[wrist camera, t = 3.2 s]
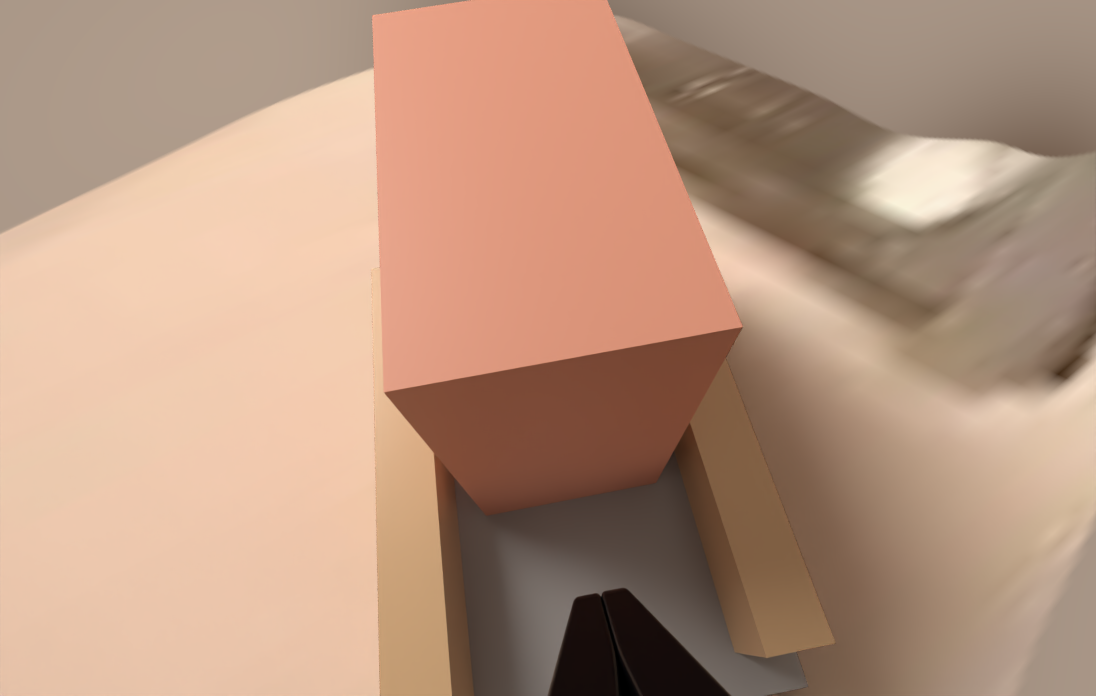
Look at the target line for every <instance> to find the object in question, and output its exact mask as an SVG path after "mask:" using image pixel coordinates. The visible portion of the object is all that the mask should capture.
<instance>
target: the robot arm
mask: <svg viewBox="0 0 1096 696" xmlns="http://www.w3.org/2000/svg"><path fill="white" fill-rule="evenodd" d="M547 696H731V695H730V694H729V693H728V692H727V691H726V690H725V688H724V687H723V686H722V685H721V684H720V683H719V682H718V681H717V680H716V679H715V678H714V677H713V676H712V675H711V674H710V673H709V672H708V671H707V670H706V669H705V668H704V667H703V666H702V665H701V664H700V663H699V662H698V661H697V660H696V659H695V658H694V657H693V656H692V655H691V654H690V653H689V652H688V650H687V649H686V648H685V647H684V646H683V645H682V644H681V643H680V642H679V641H678V640H677V639H676V638H675V637H674V636H673V635H672V634H671V633H670V632H669V631H668V630H667V629H666V628H665V627H664V626H663V625H662V624H661V623H660V622H659V621H658V620H657V619H656V618H655V617H654V616H653V615H652V614H651V612H650V611H649V610H648V609H647V608H646V607H645V606H644V605H643V604H642V603H641V602H640V601H639V600H638V599H637V598H636V597H635V596H634V595H633V594H632V593H631V592H630V591H629V590H628V589H626V588H618V589H613V590H608V591H604V592H603V593H602V595H601V596H600V595H599V594H598V593H593V594H588V595H583V596H578V597H576V598H575V599H574V601H573V604H572V608H571V611H570V615H569V618H568V622H567V626H566V629H565V633H564V637H563V640H562V644H561V648H560V651H559V655H558V658H557V662H556V666H555V669H554V673H553V677H552V680H551V684H550V688H549V691H548V695H547Z"/></svg>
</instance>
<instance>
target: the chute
mask: <svg viewBox="0 0 1096 696" xmlns="http://www.w3.org/2000/svg"><path fill="white" fill-rule="evenodd" d="M371 279H372V329H373V379H374V428H375V478H376V528H377V577H378V627H379V677H380V696H547V695H548V691H549V688H550V684H551V680H552V677H553V673H554V669H555V666H556V662H557V658H558V655H559V651H560V648H561V644H562V640H563V637H564V633H565V629H566V626H567V622H568V618H569V615H570V611H571V608H572V604H573V601H574V599H575V598H576V597H578V596H583V595H588V594H593V593H598V594H599V595H600V596H601V595H602V593H603V592H604V591H608V590H613V589H618V588H626V589H628V590H629V591H630V592H631V593H632V594H633V595H634V596H635V597H636V598H637V599H638V600H639V601H640V602H641V603H642V604H643V605H644V606H645V607H646V608H647V609H648V610H649V611H650V612H651V614H652V615H653V616H654V617H655V618H656V619H657V620H658V621H659V622H660V623H661V624H662V625H663V626H664V627H665V628H666V629H667V630H668V631H669V632H670V633H671V634H672V635H673V636H674V637H675V638H676V639H677V640H678V641H679V642H680V643H681V644H682V645H683V646H684V647H685V648H686V649H687V650H688V652H689V653H690V654H691V655H692V656H693V657H694V658H695V659H696V660H697V661H698V662H699V663H700V664H701V665H702V666H703V667H704V668H705V669H706V670H707V671H708V672H709V673H710V674H711V675H712V676H713V677H714V678H715V679H716V680H717V681H718V682H719V683H720V684H721V685H722V686H723V687H724V688H725V690H726V691H727V692H728V693H729V694H730V695H731V696H767V695H772V694H777V693H782V692H786V691H791V690H796V689H801V688H805V687H808V684H807V681H806V678H805V675H804V672H803V669H802V667H801V664H800V661H799V658H798V655H797V651H802V650H807V649H812V648H817V647H821V646H826V645H831V644H836V643H835V640H834V638H833V635H832V632H831V630H830V627H829V625H828V622H827V619H826V617H825V614H824V612H823V609H822V607H821V604H820V601H819V599H818V596H817V594H816V591H815V588H814V586H813V583H812V581H811V578H810V575H809V573H808V570H807V568H806V565H805V562H804V560H803V557H802V555H801V552H800V549H799V547H798V544H797V542H796V539H795V536H794V534H793V531H792V529H791V526H790V523H789V521H788V518H787V516H786V513H785V510H784V508H783V505H782V503H781V500H780V497H779V495H778V492H777V490H776V487H775V484H774V482H773V479H772V477H771V474H770V471H769V469H768V466H767V464H766V461H765V458H764V456H763V453H762V451H761V448H760V445H759V443H758V440H757V438H756V435H755V432H754V430H753V427H752V425H751V422H750V419H749V417H748V414H747V412H746V409H745V406H744V404H743V401H742V399H741V396H740V393H739V391H738V388H737V386H736V383H735V380H734V378H733V375H732V373H731V370H730V367H729V365H728V362H727V360H726V358H725V360H724V362H723V363H722V365H721V367H720V369H719V371H718V372H717V374H716V376H715V378H714V380H713V381H712V383H711V385H710V387H709V389H708V390H707V392H706V394H705V396H704V398H703V399H702V401H701V403H700V405H699V407H698V408H697V410H696V412H695V414H694V416H693V417H692V419H691V421H690V423H689V425H688V426H687V428H686V430H685V432H684V434H683V435H682V437H681V439H680V441H679V442H678V444H677V446H676V448H675V450H674V451H673V453H672V455H671V457H670V459H669V460H668V462H667V464H666V466H665V468H664V469H663V471H662V473H661V475H660V477H659V478H658V480H657V482H656V483H654V484H649V485H643V486H638V487H633V488H628V489H623V490H617V491H612V492H607V493H602V494H597V495H592V496H586V497H581V498H576V499H571V500H566V501H560V502H555V503H550V504H545V505H540V506H535V507H529V508H524V509H519V510H514V511H509V512H504V513H498V514H493V515H488V516H486V515H485V514H484V513H483V511H482V510H481V509H480V508H479V507H478V505H477V504H476V503H475V502H474V501H473V499H472V498H471V497H470V496H469V495H468V493H467V492H466V491H465V490H464V489H463V487H462V486H461V485H460V484H459V482H458V481H457V480H456V479H455V478H454V476H453V475H452V474H451V473H450V472H449V470H448V469H447V468H446V467H445V466H444V464H443V463H442V462H441V461H440V460H439V458H438V457H437V456H436V455H435V454H434V452H433V451H432V450H431V449H430V448H429V446H428V445H427V444H426V443H425V442H424V440H423V439H422V438H421V437H420V435H419V434H418V433H417V432H416V431H415V429H414V428H413V427H412V426H411V425H410V423H409V422H408V421H407V420H406V419H405V417H404V416H403V415H402V414H401V413H400V411H399V410H398V409H397V408H396V407H395V405H394V404H393V403H392V402H391V401H390V399H389V398H388V397H387V396H386V395H385V393H384V388H383V355H382V321H381V288H380V267H379V268H374V269H371Z"/></svg>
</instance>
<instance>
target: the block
mask: <svg viewBox="0 0 1096 696" xmlns="http://www.w3.org/2000/svg"><path fill="white" fill-rule="evenodd" d="M372 21H373V54H374V88H375V121H376V154H377V188H378V221H379V255H380V288H381V321H382V355H383V388H384V393H385V395H386V396H387V397H388V398H389V399H390V401H391V402H392V403H393V404H394V405H395V407H396V408H397V409H398V410H399V411H400V413H401V414H402V415H403V416H404V417H405V419H406V420H407V421H408V422H409V423H410V425H411V426H412V427H413V428H414V429H415V431H416V432H417V433H418V434H419V435H420V437H421V438H422V439H423V440H424V442H425V443H426V444H427V445H428V446H429V448H430V449H431V450H432V451H433V452H434V454H435V455H436V456H437V457H438V458H439V460H440V461H441V462H442V463H443V464H444V466H445V467H446V468H447V469H448V470H449V472H450V473H451V474H452V475H453V476H454V478H455V479H456V480H457V481H458V482H459V484H460V485H461V486H462V487H463V489H464V490H465V491H466V492H467V493H468V495H469V496H470V497H471V498H472V499H473V501H474V502H475V503H476V504H477V505H478V507H479V508H480V509H481V510H482V511H483V513H484V514H485V515H486V516H488V515H493V514H498V513H504V512H509V511H514V510H519V509H524V508H529V507H535V506H540V505H545V504H550V503H555V502H560V501H566V500H571V499H576V498H581V497H586V496H592V495H597V494H602V493H607V492H612V491H617V490H623V489H628V488H633V487H638V486H643V485H649V484H654V483H656V482H657V480H658V478H659V477H660V475H661V473H662V471H663V469H664V468H665V466H666V464H667V462H668V460H669V459H670V457H671V455H672V453H673V451H674V450H675V448H676V446H677V444H678V442H679V441H680V439H681V437H682V435H683V434H684V432H685V430H686V428H687V426H688V425H689V423H690V421H691V419H692V417H693V416H694V414H695V412H696V410H697V408H698V407H699V405H700V403H701V401H702V399H703V398H704V396H705V394H706V392H707V390H708V389H709V387H710V385H711V383H712V381H713V380H714V378H715V376H716V374H717V372H718V371H719V369H720V367H721V365H722V363H723V362H724V360H725V358H726V356H727V354H728V353H729V351H730V349H731V347H732V345H733V344H734V342H735V340H736V338H737V337H738V335H739V333H740V331H741V329H742V328H743V326H742V324H741V321H740V319H739V316H738V314H737V312H736V309H735V307H734V304H733V302H732V300H731V297H730V295H729V292H728V290H727V288H726V285H725V283H724V280H723V278H722V276H721V273H720V271H719V268H718V266H717V264H716V261H715V259H714V256H713V254H712V251H711V249H710V247H709V244H708V242H707V239H706V237H705V235H704V232H703V230H702V227H701V225H700V223H699V220H698V218H697V215H696V213H695V211H694V208H693V206H692V203H691V201H690V199H689V196H688V194H687V191H686V189H685V187H684V184H683V182H682V179H681V177H680V175H679V172H678V170H677V167H676V165H675V162H674V160H673V158H672V155H671V153H670V150H669V148H668V146H667V143H666V141H665V138H664V136H663V134H662V131H661V129H660V126H659V124H658V122H657V119H656V117H655V114H654V112H653V110H652V107H651V105H650V102H649V100H648V98H647V95H646V93H645V90H644V88H643V86H642V83H641V81H640V78H639V76H638V73H637V71H636V69H635V66H634V64H633V61H632V59H631V57H630V54H629V52H628V49H627V47H626V45H625V42H624V40H623V37H622V35H621V33H620V30H619V28H618V25H617V23H616V21H615V18H614V16H613V13H612V11H611V9H610V6H609V4H608V2H607V0H470V1H463V2H457V3H450V4H444V5H437V6H431V7H424V8H417V9H411V10H404V11H397V12H391V13H385V14H378V15H373V16H372Z"/></svg>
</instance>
